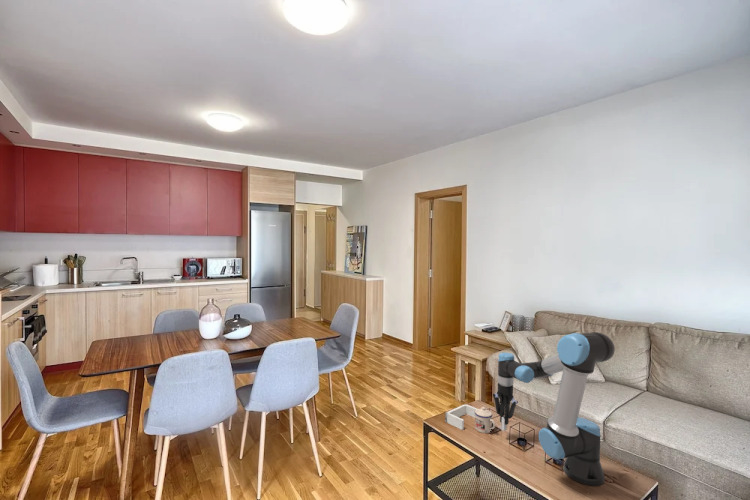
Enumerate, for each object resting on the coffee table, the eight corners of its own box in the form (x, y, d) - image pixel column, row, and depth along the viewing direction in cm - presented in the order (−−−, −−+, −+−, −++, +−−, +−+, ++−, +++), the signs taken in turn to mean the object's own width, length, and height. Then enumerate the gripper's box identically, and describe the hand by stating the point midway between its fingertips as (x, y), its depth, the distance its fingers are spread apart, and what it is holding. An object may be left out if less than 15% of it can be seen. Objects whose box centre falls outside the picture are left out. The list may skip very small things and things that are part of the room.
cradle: (482, 419, 203) (482, 410, 203) (462, 429, 190) (462, 420, 190) (465, 412, 211) (465, 403, 211) (444, 421, 199) (445, 412, 199)
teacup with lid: (470, 428, 193) (471, 406, 193) (481, 423, 198) (482, 402, 198) (489, 437, 183) (489, 415, 183) (500, 432, 188) (500, 410, 188)
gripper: (521, 386, 180) (519, 432, 180) (497, 378, 189) (496, 422, 190) (513, 389, 175) (512, 437, 175) (490, 381, 185) (488, 426, 185)
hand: (504, 429), depth 182 cm, fingers closed
